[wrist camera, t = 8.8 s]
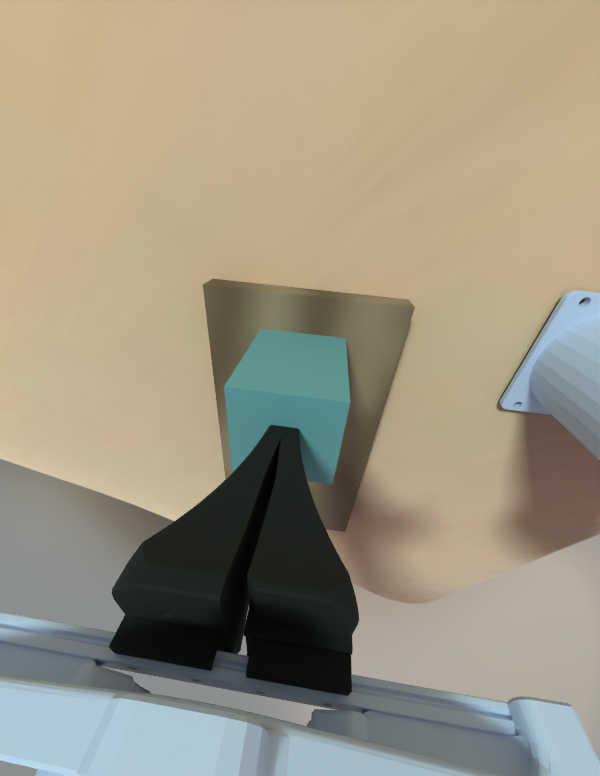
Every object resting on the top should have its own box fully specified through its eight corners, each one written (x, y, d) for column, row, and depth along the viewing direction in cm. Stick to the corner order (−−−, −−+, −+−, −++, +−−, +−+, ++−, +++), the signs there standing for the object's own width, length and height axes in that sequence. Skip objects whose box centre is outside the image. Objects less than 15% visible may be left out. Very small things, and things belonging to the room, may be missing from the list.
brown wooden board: (408, 299, 16) (414, 307, 15) (344, 517, 29) (344, 531, 28) (212, 278, 17) (203, 284, 16) (234, 501, 30) (229, 514, 28)
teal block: (345, 338, 16) (350, 402, 11) (333, 406, 19) (332, 484, 14) (261, 328, 17) (224, 386, 11) (261, 397, 20) (232, 470, 14)
